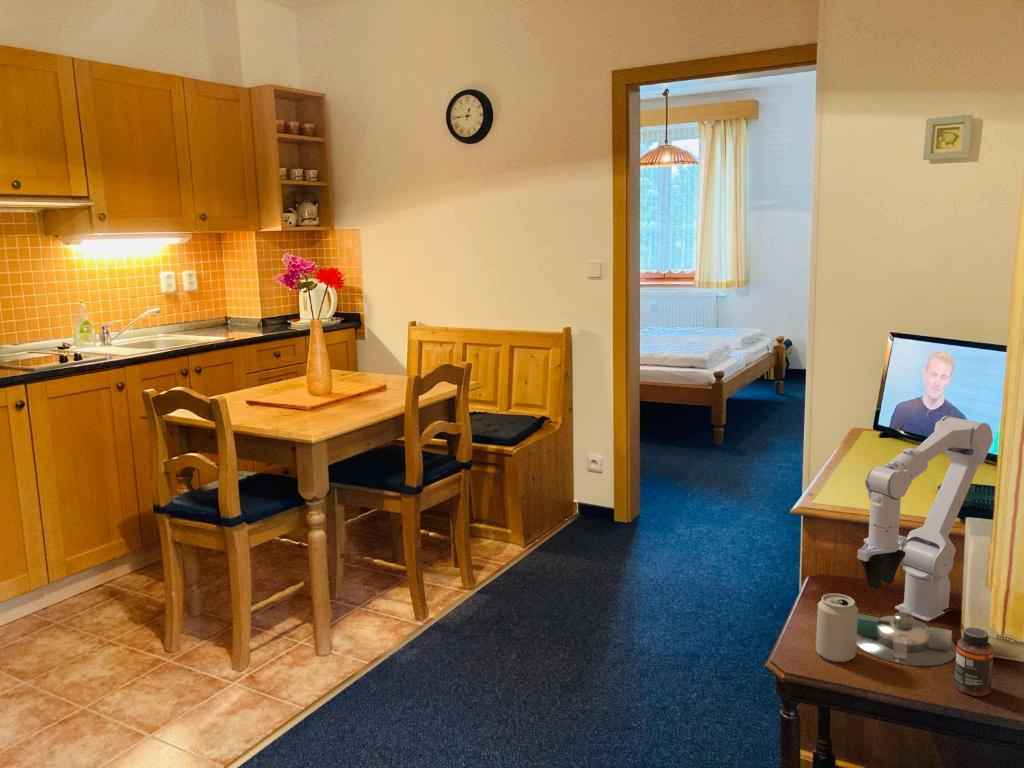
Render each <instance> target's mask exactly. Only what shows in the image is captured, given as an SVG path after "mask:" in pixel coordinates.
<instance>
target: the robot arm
mask: <svg viewBox="0 0 1024 768" xmlns="http://www.w3.org/2000/svg"><path fill="white" fill-rule="evenodd" d="M993 437H994V436H993V431H992V428H991V426H990V425H989V424H988V423H986V422H980V421H979V422H978V421H973V420H969V419H964V418H960V417H954V416H951V415H944V416H942V417H941V418H940V419H939V420H938V421H936V422H935V425H934V430H933V432H932V433H931V434H930V435H929V436H928V437H927V438H926V439H924V441H922V443H920V444H919V445H918V446H917V447H916V448H912V447H908V448H904V449H903V450H902V452H900V453H899V454H898V455H896V456H895V457H894V458H893V459H891V460H890V461H888V462H886V464H884V465H877V466H875V467H872V468H870V470H869V471H868V473H867V475H866V479H865V480H864V483H865V488H866V490H867V493H868V494H867V495H868V496H867V498H868V500H869V501H870V504H869V505H870V506H869V507H870V508H869V522H868V537H866V538H864V539H863V543H864V545H863V546H862V547H861V548H860V549H858V550H857V559H858V560H859V561H860V562H861V564H862V566H863V569H864V572H865V575H866V576H865V577H866V582H867V584H868V587H869V588H872V589H874V590H879V589H880V587H881V584H882V582H884V583H886V584H889V585H891V584H892V583H893V582H894V579H895V577H896V573H897V570H898V568H899V567H900V564H901V565H902V569H903V571H905V579H904V580H905V583H904V597H903V598H904V599H903V603H900V604H898V605H896V606H894V609H895V610H897V611H899V609H900V606H901V607H907V608H912V616H913V617H915V618H917V619H920V620H922V621H925V622H930V620H931V621H933V620H935V619H937V618H936V617H938V616H940V615H942V614H944V613H945V612H944V611H942V610H944V609H946V608H950V607H949V605H950V604H949V603H950V593H951V592H950V591H951V581H950V578H949V576H948V575H949V574H950V572H952V570H953V566H954V558H955V554H956V552H957V549H956V547H955V545H954V544H953V542H952V541H951V539H950V537H949V535H950V534H951V531H952V530H953V529H952V528H953V526H954V524H955V521H956V519H957V517H958V515H959V512H960V510H961V507H962V506H963V503H964V501H965V499H966V497H967V494H968V492H969V489H970V488H971V486H972V483H973V480H974V478H975V475H976V473H977V471H978V469H979V467H980V465H982V464H984V463H985V461H986V458H987V456H988V454H989V451H990V449H991V446H992V444H993V442H994V438H993ZM943 453H944V455H945V456H947V458H949V461H950V464H949V467H948V469H947V471H946V474H945V476H944V478H943V480H942V483H941V485H940V488H939V489H938V492H937V494H936V497H935V498H934V501H933V503H932V506H931V508H930V510H929V511H928V514H927V516H926V520H925V522H924V523H923V526H921V527H918V528H915V529H913V530H910V531H909V532H908V534H907V536H904V535H900V516H901V515H900V514H901V504H902V503H901V501H902V497H904V496H905V495H906V494H907V492H908V490H909V488H910V486H911V485H912V483H913V482H912V481H914V480H915V479H916V478H918V477H919V476H920V475H922V474H923V473H924V472H926V471H927V469H928V467H929V466H928V465H929V464H928V463H929V461H931V460H933V459H934V458H936V457H938V456H939V455H941V454H943ZM942 616H943V615H942ZM940 617H941V616H940ZM934 618H935V619H934ZM938 618H939V617H938ZM932 619H933V620H932Z"/></svg>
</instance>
